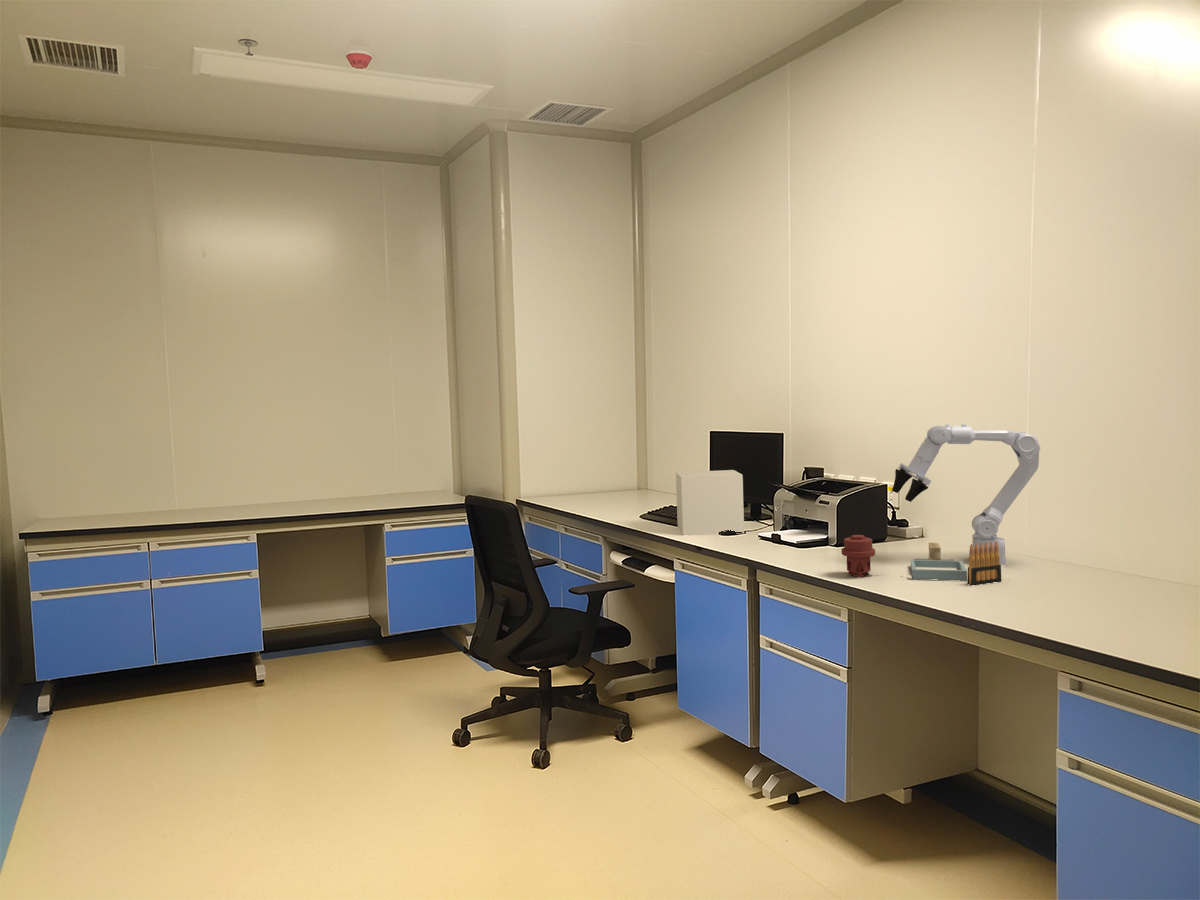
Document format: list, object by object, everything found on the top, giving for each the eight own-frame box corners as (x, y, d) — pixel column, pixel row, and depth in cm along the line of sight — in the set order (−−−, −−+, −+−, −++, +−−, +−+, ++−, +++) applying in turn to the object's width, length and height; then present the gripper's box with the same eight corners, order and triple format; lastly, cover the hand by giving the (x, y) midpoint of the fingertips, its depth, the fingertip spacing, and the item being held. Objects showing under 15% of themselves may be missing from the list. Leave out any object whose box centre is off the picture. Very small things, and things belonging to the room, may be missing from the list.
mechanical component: (873, 572, 269) (877, 579, 259) (840, 571, 271) (843, 578, 261) (873, 533, 268) (876, 538, 258) (840, 533, 270) (842, 538, 260)
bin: (962, 570, 266) (962, 560, 266) (967, 581, 252) (966, 571, 252) (910, 569, 271) (910, 559, 271) (912, 579, 257) (912, 569, 256)
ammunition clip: (971, 585, 246) (971, 544, 245) (967, 584, 248) (966, 543, 247) (1001, 582, 249) (1001, 541, 249) (997, 580, 251) (996, 540, 250)
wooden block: (938, 559, 279) (938, 542, 279) (940, 565, 270) (940, 547, 270) (928, 559, 280) (928, 542, 279) (930, 564, 271) (930, 547, 271)
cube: (735, 526, 372) (733, 469, 370) (744, 534, 351) (742, 474, 349) (677, 528, 372) (675, 472, 370) (683, 536, 350) (681, 477, 349)
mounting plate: (953, 562, 278) (953, 559, 278) (956, 569, 269) (956, 565, 268) (914, 561, 282) (914, 558, 282) (915, 568, 272) (915, 564, 272)
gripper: (901, 447, 280) (879, 483, 283) (927, 462, 267) (904, 500, 269) (916, 455, 283) (895, 491, 285) (943, 470, 269) (921, 508, 272)
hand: (901, 496), depth 277 cm, fingers open, 7 cm apart
